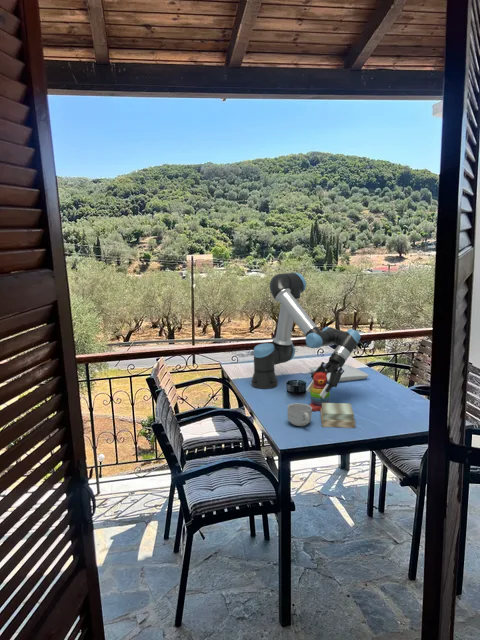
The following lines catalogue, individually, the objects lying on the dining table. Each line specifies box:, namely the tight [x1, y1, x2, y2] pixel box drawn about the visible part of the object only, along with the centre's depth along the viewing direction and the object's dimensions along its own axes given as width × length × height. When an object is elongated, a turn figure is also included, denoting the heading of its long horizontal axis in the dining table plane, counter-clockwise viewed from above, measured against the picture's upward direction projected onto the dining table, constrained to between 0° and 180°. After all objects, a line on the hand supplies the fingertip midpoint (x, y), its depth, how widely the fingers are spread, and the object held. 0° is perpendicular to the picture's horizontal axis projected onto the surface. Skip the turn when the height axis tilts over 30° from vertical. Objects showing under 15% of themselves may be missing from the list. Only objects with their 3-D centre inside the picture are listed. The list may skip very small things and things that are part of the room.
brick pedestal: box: [320, 402, 356, 429], centre depth 192 cm, size 14×14×6 cm
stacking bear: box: [308, 372, 331, 412], centre depth 207 cm, size 11×10×18 cm
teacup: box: [286, 402, 313, 427], centre depth 188 cm, size 14×11×8 cm
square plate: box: [308, 363, 370, 383], centre depth 259 cm, size 27×27×4 cm
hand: (314, 394), depth 206 cm, fingers closed on stacking bear, 9 cm apart
